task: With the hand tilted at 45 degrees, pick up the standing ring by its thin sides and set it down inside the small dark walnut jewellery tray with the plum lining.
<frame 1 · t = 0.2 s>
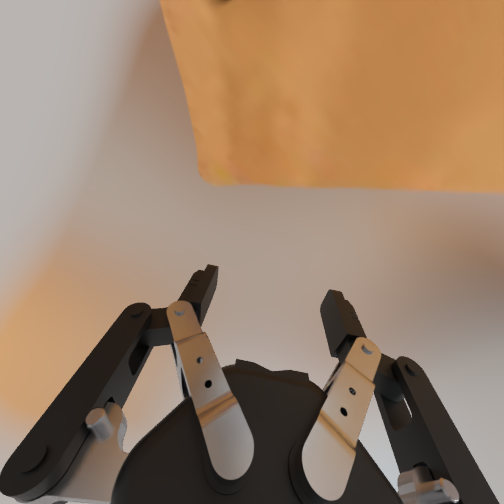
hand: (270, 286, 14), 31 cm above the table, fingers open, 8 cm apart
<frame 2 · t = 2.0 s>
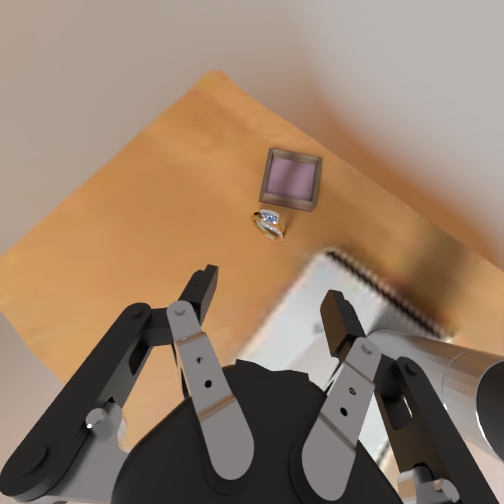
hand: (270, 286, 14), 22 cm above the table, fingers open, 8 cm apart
jewellery tray: (289, 183, 41), on the table
ring: (265, 234, 38), on the table
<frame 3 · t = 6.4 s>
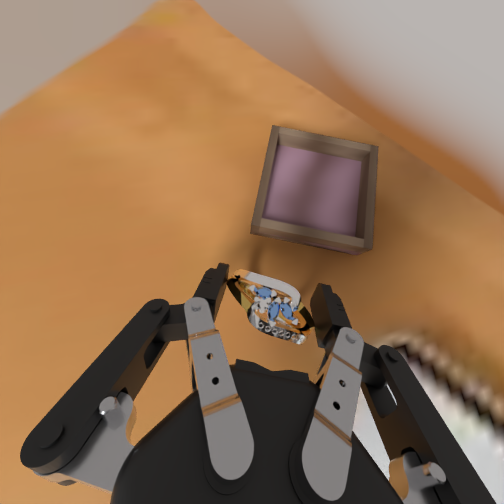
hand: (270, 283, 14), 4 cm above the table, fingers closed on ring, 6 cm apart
jewellery tray: (310, 196, 21), on the table
ring: (262, 303, 18), on the table, touching gripper
when the fingers open (7 cm above the table, at t = 11.3 s): ring drops 1 cm, resting on jewellery tray.
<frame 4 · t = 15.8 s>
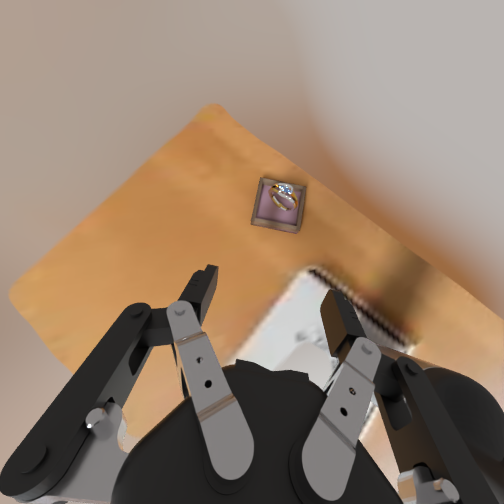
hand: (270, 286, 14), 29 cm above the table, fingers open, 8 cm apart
jewellery tray: (277, 207, 46), on the table
ring: (279, 207, 46), point 1 cm above the table, touching jewellery tray
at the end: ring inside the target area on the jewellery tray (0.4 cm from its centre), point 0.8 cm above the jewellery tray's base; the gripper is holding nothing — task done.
